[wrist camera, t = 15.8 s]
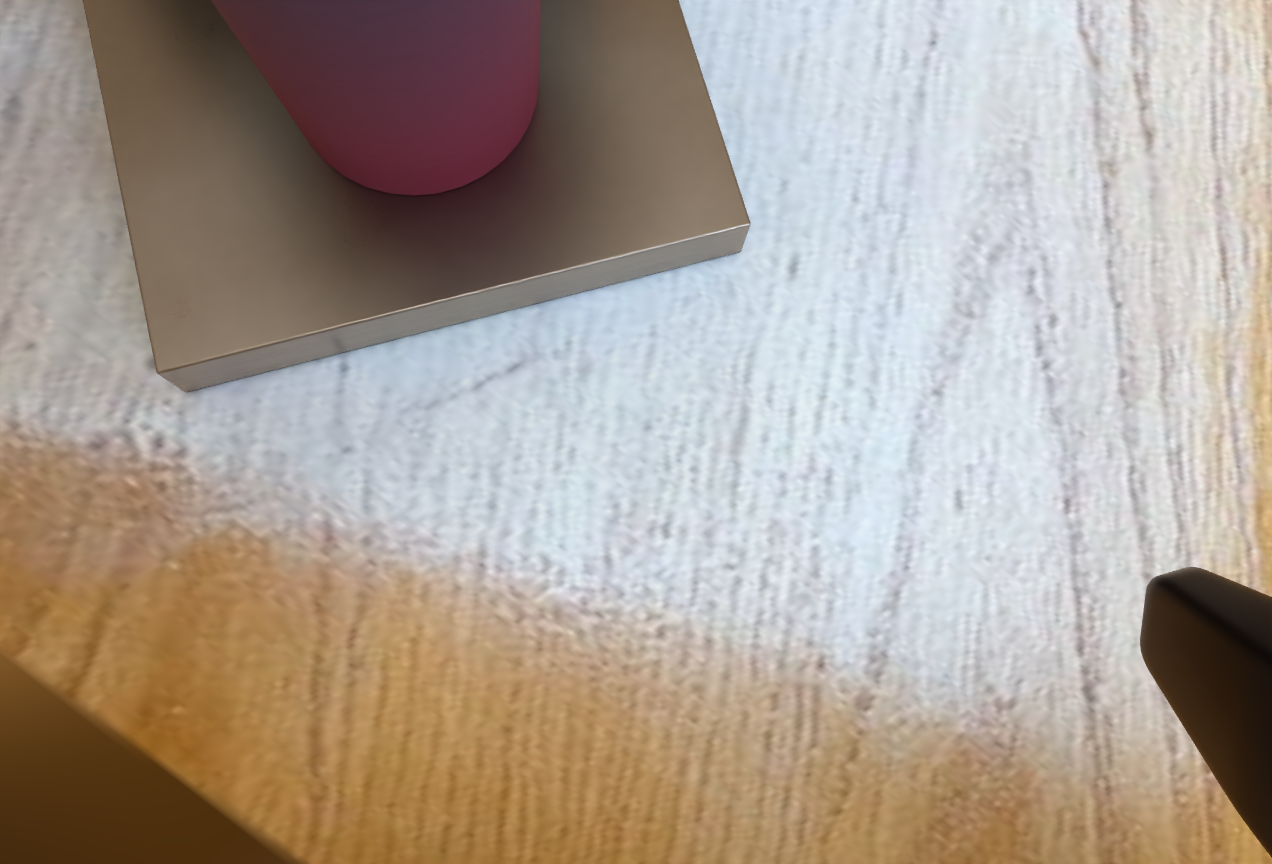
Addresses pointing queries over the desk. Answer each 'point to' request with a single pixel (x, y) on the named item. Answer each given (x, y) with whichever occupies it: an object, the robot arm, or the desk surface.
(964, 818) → the desk surface
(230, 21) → the cup
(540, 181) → the grey tray
